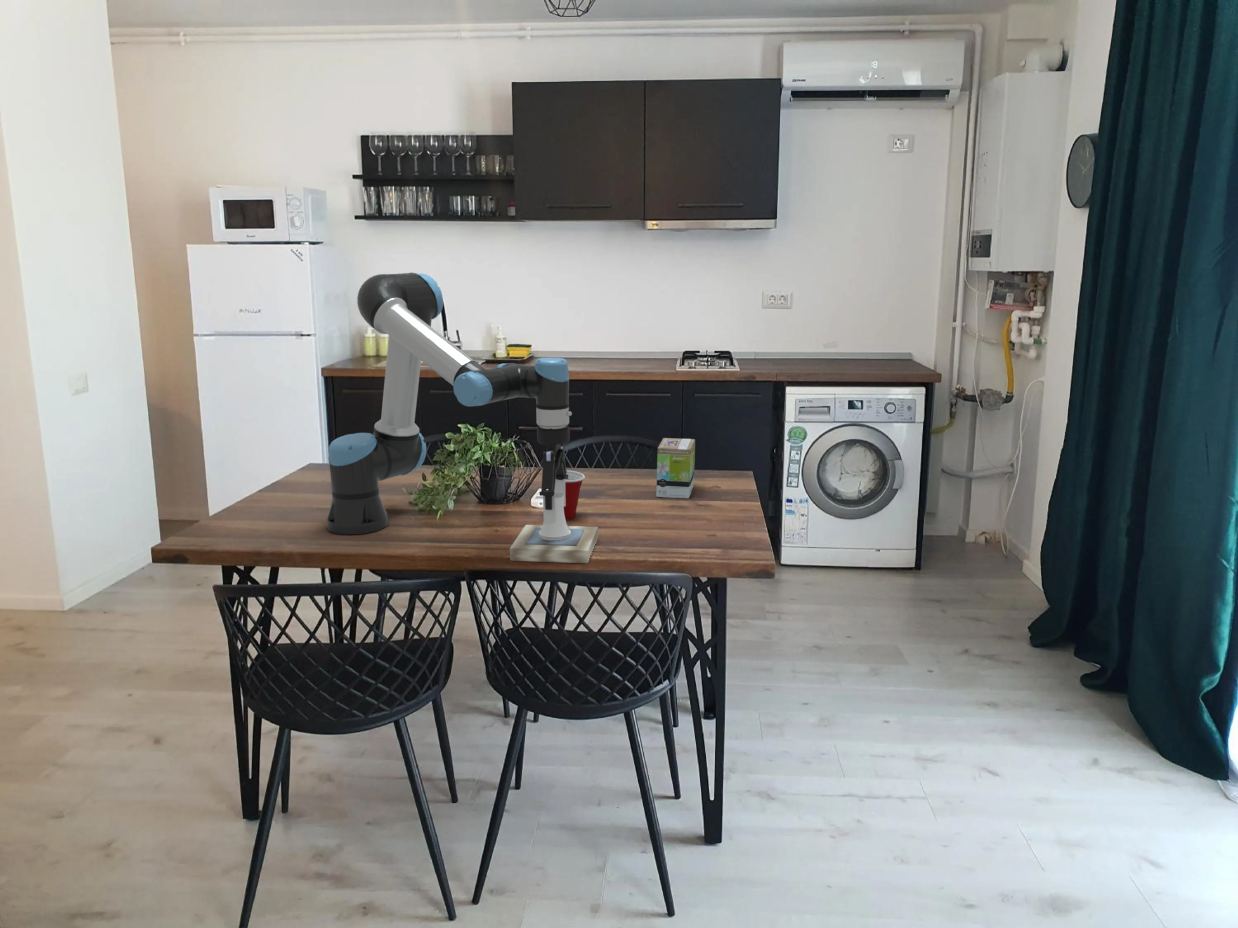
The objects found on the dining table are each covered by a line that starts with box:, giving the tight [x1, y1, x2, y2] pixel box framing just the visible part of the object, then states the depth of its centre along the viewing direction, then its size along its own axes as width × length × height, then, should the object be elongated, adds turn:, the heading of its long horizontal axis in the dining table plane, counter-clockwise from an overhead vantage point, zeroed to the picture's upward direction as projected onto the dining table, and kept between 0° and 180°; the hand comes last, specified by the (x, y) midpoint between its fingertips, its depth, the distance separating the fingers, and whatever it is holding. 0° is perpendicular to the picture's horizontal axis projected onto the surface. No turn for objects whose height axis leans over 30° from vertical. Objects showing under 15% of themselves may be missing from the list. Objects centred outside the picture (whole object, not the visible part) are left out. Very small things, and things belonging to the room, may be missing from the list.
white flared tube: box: [539, 493, 571, 540], centre depth 214 cm, size 8×8×10 cm
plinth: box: [509, 524, 599, 564], centre depth 216 cm, size 18×18×3 cm
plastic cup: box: [547, 469, 585, 521], centre depth 240 cm, size 11×11×12 cm
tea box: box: [655, 437, 696, 499], centre depth 265 cm, size 15×10×15 cm, turn 171°
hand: (555, 514), depth 214 cm, fingers open, 13 cm apart
